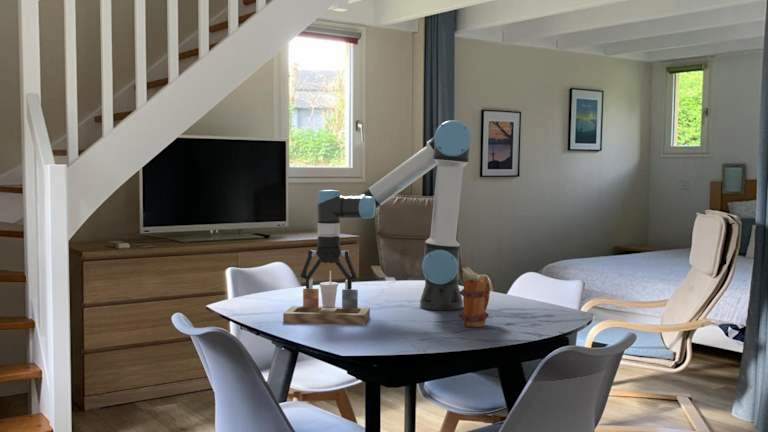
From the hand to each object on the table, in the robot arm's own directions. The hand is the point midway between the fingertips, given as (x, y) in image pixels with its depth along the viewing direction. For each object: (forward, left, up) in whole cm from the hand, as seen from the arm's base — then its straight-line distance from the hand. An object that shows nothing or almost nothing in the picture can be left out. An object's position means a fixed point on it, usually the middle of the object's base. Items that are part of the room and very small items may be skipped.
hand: (328, 298), depth 271 cm
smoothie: (0, 0, -4) cm, 4 cm away
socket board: (-2, +14, -4) cm, 15 cm away
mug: (-50, +17, -4) cm, 53 cm away
